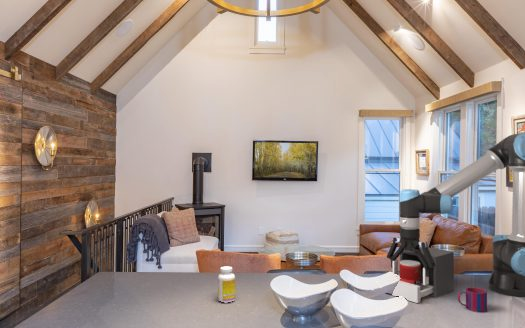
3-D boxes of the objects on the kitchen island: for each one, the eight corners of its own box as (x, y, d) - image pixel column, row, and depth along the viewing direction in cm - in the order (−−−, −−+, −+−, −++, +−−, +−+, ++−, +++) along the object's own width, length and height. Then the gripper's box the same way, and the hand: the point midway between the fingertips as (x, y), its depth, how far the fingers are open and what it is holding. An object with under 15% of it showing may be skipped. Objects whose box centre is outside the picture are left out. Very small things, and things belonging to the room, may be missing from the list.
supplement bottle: (238, 300, 146) (238, 267, 146) (226, 305, 142) (225, 271, 142) (227, 296, 151) (227, 264, 151) (214, 301, 146) (214, 267, 146)
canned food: (419, 294, 147) (418, 265, 147) (397, 290, 151) (397, 263, 151) (422, 288, 153) (422, 261, 153) (401, 285, 157) (401, 259, 157)
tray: (438, 294, 151) (438, 279, 151) (417, 303, 142) (417, 287, 142) (404, 285, 163) (404, 271, 163) (383, 292, 154) (383, 277, 154)
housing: (453, 290, 157) (453, 252, 157) (436, 297, 149) (435, 256, 149) (418, 281, 170) (418, 245, 170) (400, 287, 162) (399, 249, 162)
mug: (490, 312, 133) (490, 293, 133) (461, 312, 134) (461, 292, 134) (481, 305, 140) (481, 287, 140) (453, 305, 141) (453, 286, 141)
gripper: (378, 224, 160) (378, 274, 160) (434, 233, 140) (434, 290, 140) (388, 223, 164) (389, 271, 164) (444, 230, 144) (445, 286, 144)
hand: (410, 280), depth 152 cm, fingers open, 13 cm apart
